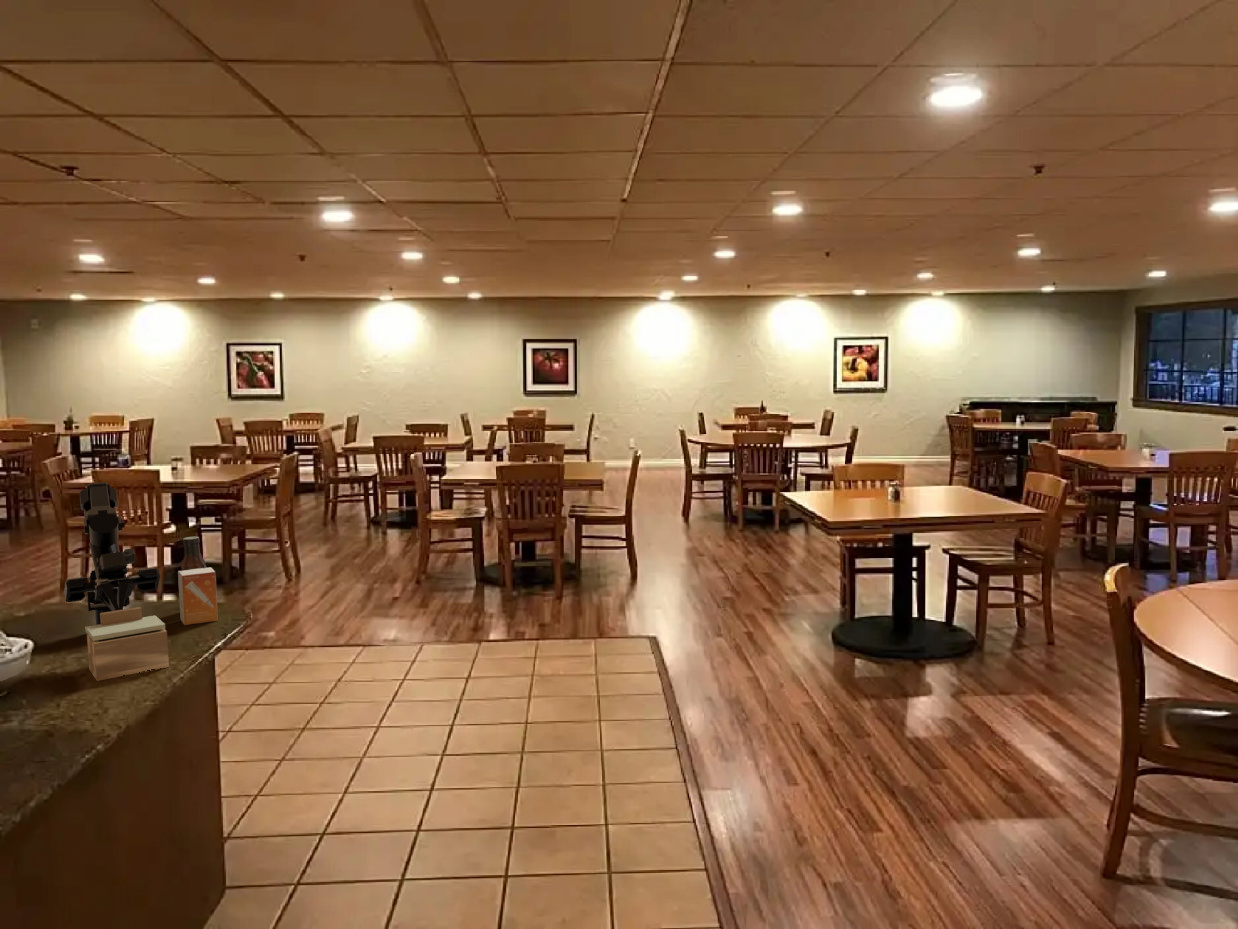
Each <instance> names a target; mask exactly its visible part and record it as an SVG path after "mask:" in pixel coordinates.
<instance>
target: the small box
mask: <svg viewBox="0 0 1238 929" xmlns="http://www.w3.org/2000/svg"><path fill="white" fill-rule="evenodd" d="M177 577H178V578H177V579H178V581H177V582H178V596H179V597H178V600H179V602H178V603H179V615H180V621H181V622H182V624H183V625H184V626H188V625H194V624H195V625H196V624H202V623H209V622H217V621H218V620H219V619H218V616H219V615H218V596H217V577H216V570H214V568H213V567H207V568H201V569H191V570H184V571H182V570H178V571H177Z"/></svg>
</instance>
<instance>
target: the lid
mask: <svg viewBox="0 0 1238 929" xmlns="http://www.w3.org/2000/svg"><path fill="white" fill-rule="evenodd" d="M100 621H101V624H99V625H95V624H93V625H89V626H88V625H87V626H84V627H85V633H86V635H87V634H88V635H89V636H90V638H91V639H92V640H93V641H96V640H102V639H108V638H114V637H120V636H125V635H131V634H137V633H143V632H149V631H155V630H160V629H165V630H166V623H165V622H163V621H162V620H161V619H160V618H159V617H157V616H156V615H155V614H154V615H149V616H143V611H142V607H141V606H137V607H130V608H125V609H124V608H123V610H117V611H110V612H104V613H100Z"/></svg>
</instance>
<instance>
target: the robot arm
mask: <svg viewBox="0 0 1238 929" xmlns="http://www.w3.org/2000/svg"><path fill="white" fill-rule="evenodd" d="M118 501H119V500H118V492H117V488H114V487H113V486H110V483H109V482H108V483H107V482H91V483H89V484H86V487H85V488H84V489H82V490H80V491H79V503H80V510H81V511H83V514H84V518H83V527H84V528H83V530H84V535H88V536H87V537H88V538H89V541H90V542H89V548H90V553H91V558H92V562H93V568H94V569H93V570H91V571H90V574H89V575H90V576H89V577H88V579H89V582H88V581H87V580H88V579H87V577H86V576H80V577H73V578H67V580H65V582H64V591H63V593H64V600H65V602H66V603H73V602H80V601H83V600H84V599H85V597H86V595H87V611H88V612H91V611H94V621H95V622H94V623H95V624H94V625H99V624H101V621H100V613H104V612H110V611H117V610H123V609H124V607H125V608H126V607H128V606H129V605H130V604H131V603H130V596H132V592H133V589H134V588H133V587H134V586H137V589H138V591H141V592H150V591H155V590H157V589H158V587H159V583H160V579H161V574H160V570H159V569H158V568H156V567H149V568H148V567H147V568H142V569H141V568H140V569H138V574H137V575H131V576H127V574H128V565H131V564H135V563H136V560H137V559H136V558H137V557H136V553H135V549H134V548H125V549H124V551H120V547H119V532H122V530H123V528H125V521H124V520H123V519H122V517H121V516H120V515H119V516H118V512H117V509H116V508H118ZM85 593H86V595H85Z"/></svg>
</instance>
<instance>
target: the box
mask: <svg viewBox="0 0 1238 929" xmlns="http://www.w3.org/2000/svg"><path fill="white" fill-rule="evenodd" d="M168 642H169V641H168V630H166V628H165V629H160V630H155V631H149V632H143V633H137V634H131V635H125V636H120V637H114V638H108V639H102V640H96V641H93V640H92V639H91V638H90V636H89V635H88V634H87V633H86V643H87V655H88V667H89V668H88V669H89V671H90V672H91V674H92V676H93V677H94V679H95V680H96V681H97V682H99V681H103V680H109V679H114V678H118V677H119V678H120V677H123V675H125V676H129V675H134V674H140V673H143V672H142V671H145V672H148V671H147V670H150V671H152V670H151V669H155V670H159V669H160V668H161V669H165V668H170V663H169V661H170V659H169V644H168ZM139 672H140V673H139Z"/></svg>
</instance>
